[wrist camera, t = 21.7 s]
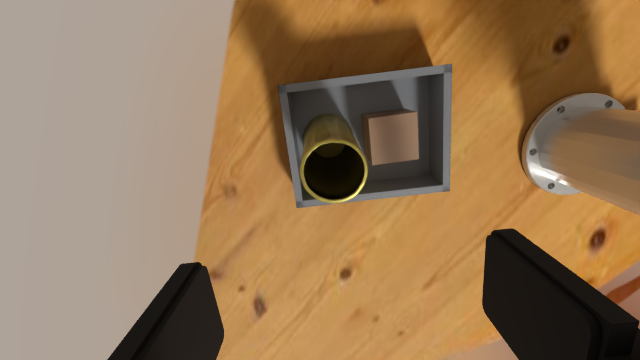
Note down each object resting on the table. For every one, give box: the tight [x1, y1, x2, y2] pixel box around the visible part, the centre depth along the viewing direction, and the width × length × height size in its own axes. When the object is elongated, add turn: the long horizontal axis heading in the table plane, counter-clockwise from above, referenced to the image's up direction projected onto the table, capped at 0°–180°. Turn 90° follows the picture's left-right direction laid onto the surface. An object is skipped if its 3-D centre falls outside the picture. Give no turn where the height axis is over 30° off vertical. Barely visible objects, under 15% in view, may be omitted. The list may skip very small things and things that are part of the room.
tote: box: [278, 64, 452, 208], centre depth 34 cm, size 18×14×5 cm
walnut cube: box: [362, 108, 419, 165], centre depth 33 cm, size 5×5×5 cm
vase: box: [300, 114, 368, 204], centre depth 29 cm, size 6×6×14 cm
